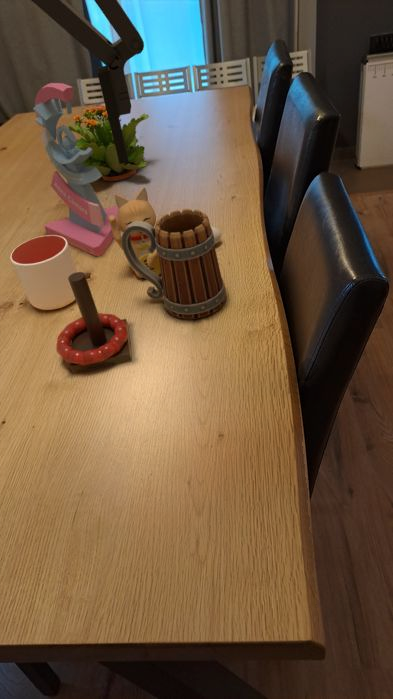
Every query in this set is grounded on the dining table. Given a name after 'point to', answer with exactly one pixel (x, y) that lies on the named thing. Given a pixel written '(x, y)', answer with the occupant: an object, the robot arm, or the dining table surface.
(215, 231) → the egg
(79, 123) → the potted flower
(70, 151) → the trophy
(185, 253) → the mug
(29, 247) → the cup
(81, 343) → the stand
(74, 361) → the ring
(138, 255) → the figurine
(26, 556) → the dining table surface
